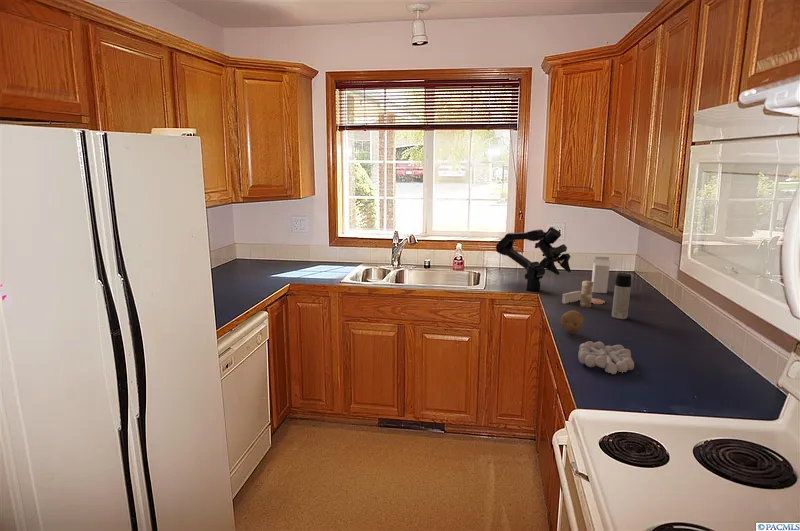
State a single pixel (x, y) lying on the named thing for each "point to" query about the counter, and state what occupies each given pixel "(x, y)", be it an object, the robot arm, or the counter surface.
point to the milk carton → (600, 274)
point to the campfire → (606, 357)
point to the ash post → (586, 293)
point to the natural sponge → (572, 321)
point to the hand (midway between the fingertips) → (564, 273)
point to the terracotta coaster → (597, 301)
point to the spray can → (621, 296)
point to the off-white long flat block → (571, 297)
